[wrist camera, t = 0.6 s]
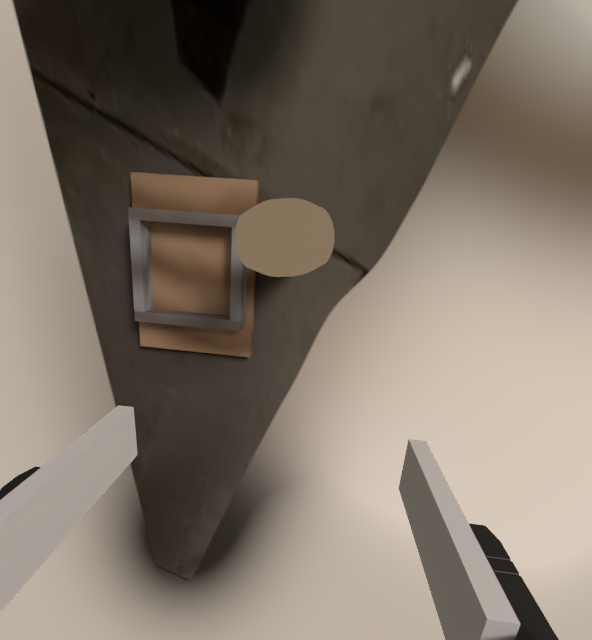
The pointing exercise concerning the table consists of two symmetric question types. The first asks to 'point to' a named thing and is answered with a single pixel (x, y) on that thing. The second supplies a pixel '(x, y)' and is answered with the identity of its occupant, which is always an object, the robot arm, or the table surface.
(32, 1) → the table surface
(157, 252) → the collar board
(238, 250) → the handle
